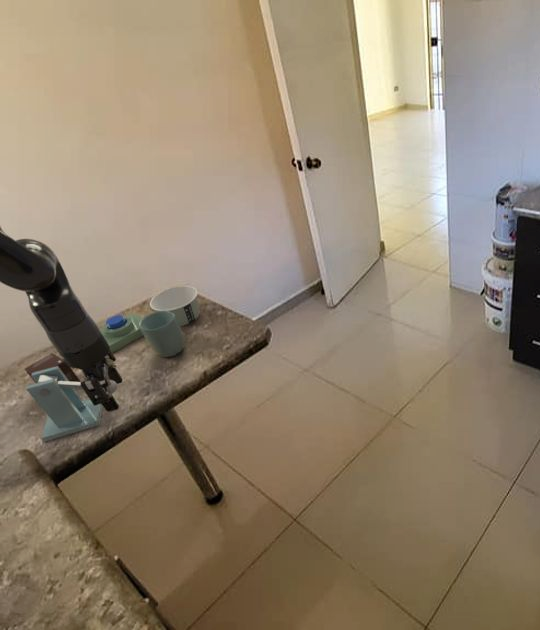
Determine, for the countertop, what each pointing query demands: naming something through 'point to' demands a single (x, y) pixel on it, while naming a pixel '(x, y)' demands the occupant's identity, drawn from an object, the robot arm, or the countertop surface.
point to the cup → (163, 333)
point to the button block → (123, 332)
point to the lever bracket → (62, 406)
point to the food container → (178, 303)
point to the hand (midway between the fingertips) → (115, 396)
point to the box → (52, 362)
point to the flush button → (116, 322)
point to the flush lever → (74, 383)
